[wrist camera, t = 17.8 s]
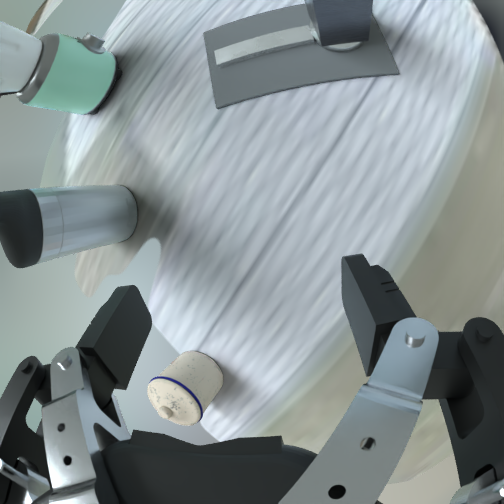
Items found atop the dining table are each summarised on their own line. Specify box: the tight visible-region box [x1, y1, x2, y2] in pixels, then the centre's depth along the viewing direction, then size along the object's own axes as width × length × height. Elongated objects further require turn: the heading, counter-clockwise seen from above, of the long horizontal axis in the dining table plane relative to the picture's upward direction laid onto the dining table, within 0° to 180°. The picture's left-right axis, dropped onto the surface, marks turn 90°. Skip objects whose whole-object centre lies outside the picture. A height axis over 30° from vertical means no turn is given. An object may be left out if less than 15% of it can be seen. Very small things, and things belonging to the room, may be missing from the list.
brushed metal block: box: [305, 0, 373, 47], centre depth 18 cm, size 6×6×11 cm
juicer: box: [0, 21, 122, 115], centre depth 21 cm, size 19×13×35 cm
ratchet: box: [214, 21, 363, 68], centre depth 24 cm, size 20×7×6 cm, turn 101°
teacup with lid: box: [147, 351, 223, 426], centre depth 36 cm, size 12×9×12 cm
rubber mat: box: [203, 4, 399, 109], centre depth 27 cm, size 24×14×1 cm, turn 101°
